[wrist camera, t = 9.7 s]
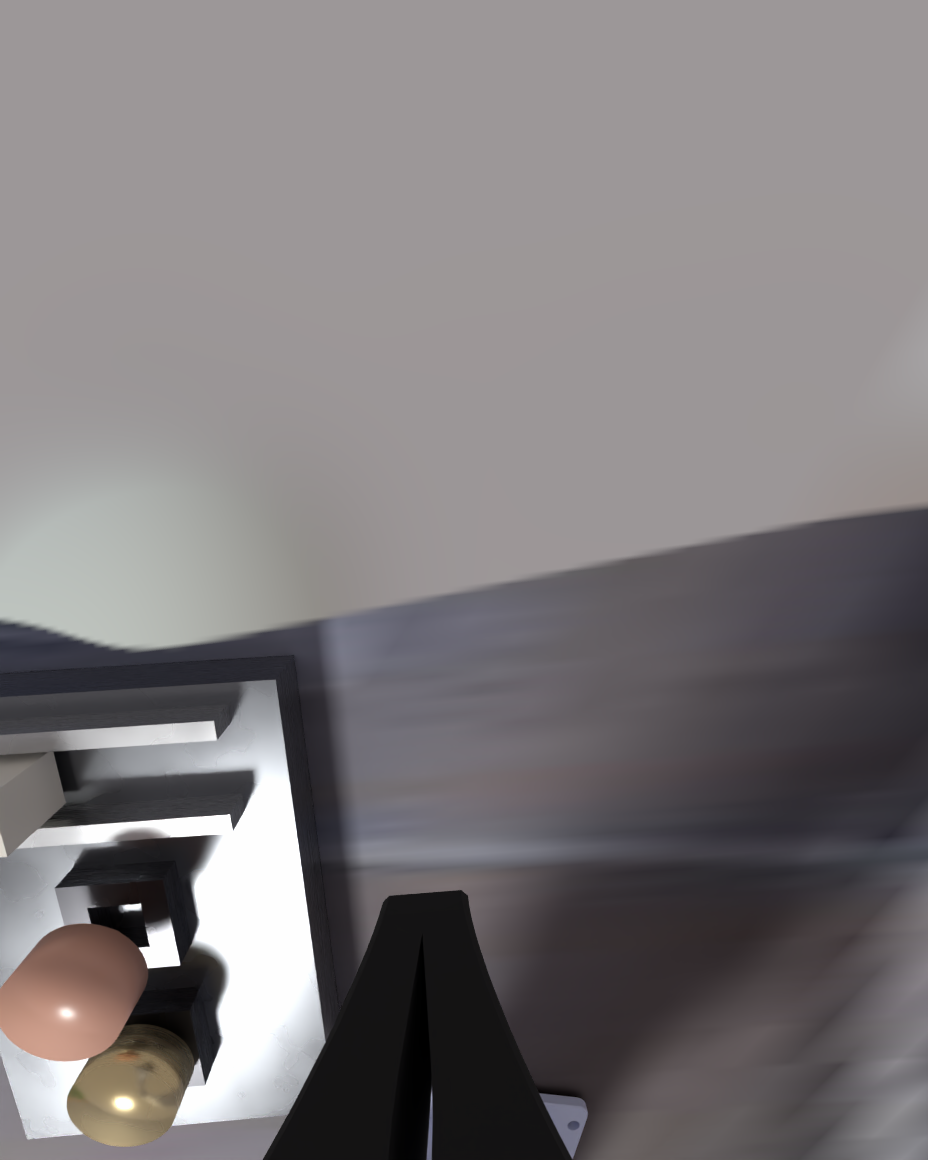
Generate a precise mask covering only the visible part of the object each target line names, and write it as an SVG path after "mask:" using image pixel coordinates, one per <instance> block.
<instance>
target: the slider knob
mask: <svg viewBox="0 0 928 1160" xmlns="http://www.w3.org/2000/svg"><path fill="white" fill-rule="evenodd" d="M65 804H66V801H65V797H64V793H63V789H62V785H61V781H60V777H59V773H58V769H57V765H56V760H55V756H54V752H38V753H24V754H9V755H0V857H8V856H9V855H10V854H11V853H12V852H13V851H14V850H15V849H16V848H18V847H19V846H20V845H21V844H22V843H23V842H24V841H25V840H26V839H27V838H28V837H30V836H31V835H32V834H33V833H34V832H35V831H36V830H37V829H38V828H39V827H40V826H42V825H43V824H44V823H45V822H46V821H47V820H48V819H49V818H50V817H51V816H52V815H54V814H55V813H56V812H57V811H58V810H59V809H60V808H61V807H62V806H63V805H65Z"/></svg>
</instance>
